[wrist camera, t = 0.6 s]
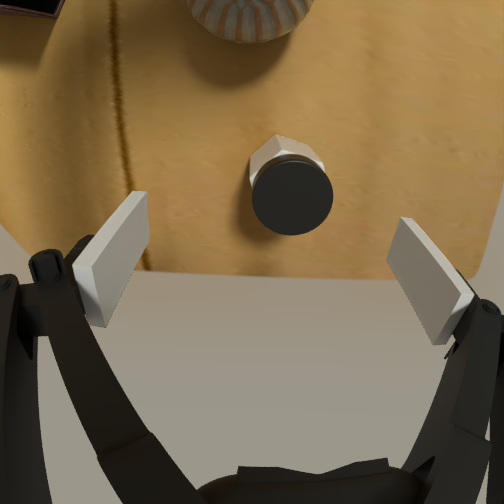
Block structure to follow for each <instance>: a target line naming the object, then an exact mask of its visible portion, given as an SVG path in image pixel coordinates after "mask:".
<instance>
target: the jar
mask: <svg viewBox="0 0 504 504" xmlns="http://www.w3.org/2000/svg"><path fill="white" fill-rule="evenodd" d="M250 183H251V187H252V204H253V209H254V211H255V214H256V216H257V217H258V219H259V220H260V222H261V223H262V224H263V225H264V226H266V227H267V228H268V229H270V230H272V231H274V232H276V233H279V234H283V235H300V234H304V233H307V232H309V231H311V230H313V229H315V228H316V227H318V226H319V225H320V224H321V223H322V222H323V221H324V220H325V219H326V217H327V216H328V214H329V212H330V210H331V207H332V203H333V189H332V185H331V183H330V180H329V178H328V177H327V175H326V174H325V171H324V165H323V163H322V161H321V160H320V159H319V158H318V156H317V155H316V154H315V152H314V151H313V150H312V149H311V147H310V146H309V145H308V144H305V143H302V142H299V141H296V140H293V139H290V138H287V137H284V136H280V135H277V134H276V135H274V136H273V137H272V138H271V139H270V140H268V141H267V142H266V143H265V144H264V145H263V146H262V147H260V148H259V149H258V150H257V151H256V152H255V153H253V154H252V155H251V156H250Z"/></svg>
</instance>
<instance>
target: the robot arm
mask: <svg viewBox="0 0 504 504" xmlns="http://www.w3.org/2000/svg"><path fill="white" fill-rule="evenodd" d="M148 242H149V224H148V204H147V192H144V191H132V192H131V194H130V195H129V196H128V197H127V198H126V199H125V200H124V201H123V203H122V204H121V205H120V206H119V207H118V208H117V210H116V211H115V212H114V213H113V214H112V215H111V217H110V218H109V219H108V220H107V221H106V223H105V224H104V225H103V226H102V227H101V229H100V230H99V231H98V232H97V234H96V235H87V236H85V237H84V238H82V239H81V240H79V241H78V243H77V244H76V245H75V246H74V248H73V249H72V250H71V251H70V253H69V254H68V255H67V256H66V257H65V258H64V260H63V255H62V253H61V252H60V251H59V250H56V249H47V250H43V251H40V252H38V253H36V254H35V255H33V256H32V257H31V259H30V260H29V264H28V265H29V268H30V272H31V275H32V278H33V281H34V283H31V284H22V285H20V284H19V281H18V278H17V277H16V276H15V275H13V274H4V275H0V504H52V499H51V495H50V490H49V486H48V480H47V474H46V468H45V462H44V455H43V448H42V440H41V430H40V420H39V407H38V381H37V350H38V336H48V337H49V340H50V344H51V346H52V350H53V353H54V356H55V359H56V362H57V364H58V367H59V370H60V373H61V375H62V378H63V381H64V383H65V386H66V389H67V391H68V393H69V396H70V398H71V401H72V403H73V405H74V408H75V410H76V412H77V415H78V417H79V419H80V421H81V423H82V426H83V428H84V430H85V432H86V434H87V436H88V438H89V440H90V442H91V444H92V446H93V448H94V450H95V452H96V454H97V459H98V461H99V464H100V466H101V468H102V470H103V472H104V473H105V475H106V477H107V479H108V480H109V482H110V484H111V485H112V487H113V489H114V490H115V492H116V494H117V495H118V497H119V498H120V500H121V502H122V503H123V504H475V503H476V500H477V497H478V494H479V492H480V489H481V485H482V482H483V479H484V476H485V472H486V469H487V465H488V462H489V471H488V484H487V498H486V504H504V315H501V311H500V309H499V308H498V307H497V306H496V305H495V304H494V303H493V302H491V301H489V300H486V299H480V298H479V297H478V295H477V294H476V293H475V291H474V290H473V289H472V287H471V286H470V285H469V284H468V282H467V281H466V280H465V279H464V277H463V276H462V275H461V273H460V272H459V271H458V270H457V269H456V268H454V267H453V266H452V265H451V264H450V262H449V261H448V260H447V259H446V257H445V256H444V255H443V254H442V253H441V251H440V250H439V249H438V248H437V247H436V245H435V244H434V243H433V242H432V241H431V240H430V238H429V237H428V236H427V235H426V234H425V233H424V231H423V230H422V229H421V228H420V227H419V226H418V225H417V224H416V222H415V221H414V220H413V219H412V218H405V217H400V219H399V222H398V226H397V229H396V232H395V235H394V238H393V241H392V244H391V247H390V250H389V253H388V256H387V259H386V261H387V263H388V264H389V266H390V268H391V269H392V271H393V273H394V274H395V276H396V278H397V280H398V281H399V283H400V285H401V286H402V288H403V290H404V292H405V294H406V295H407V297H408V299H409V301H410V303H411V304H412V306H413V308H414V310H415V312H416V314H417V316H418V318H419V320H420V321H421V323H422V325H423V327H424V329H425V331H426V333H427V335H428V337H429V339H430V340H431V343H432V345H444V344H446V343H447V342H448V340H449V338H450V337H451V335H452V334H453V335H454V338H455V339H456V340H455V342H454V343H453V345H452V347H451V348H450V350H449V351H448V353H447V354H446V356H445V357H444V359H446V358H447V357H448V360H447V363H446V366H445V369H444V372H443V375H442V378H441V381H440V383H439V386H438V389H437V392H436V395H435V397H434V400H433V402H432V405H431V407H430V410H429V412H428V415H427V417H426V419H425V422H424V424H423V426H422V428H421V431H420V433H419V435H418V438H417V440H416V442H415V444H414V446H413V448H412V450H411V452H410V454H409V456H408V458H407V460H406V462H405V463H404V465H403V466H402V468H401V469H399V468H395V467H391V466H389V464H388V459H387V458H382V459H375V460H368V461H361V462H354V463H352V464H349V465H346V466H343V467H341V468H338V469H335V470H332V471H329V472H326V473H323V474H312V473H305V472H300V471H295V470H290V469H285V468H280V467H244V466H238V471H237V474H235V475H229V476H225V477H222V478H218V479H216V480H213V481H211V482H209V483H207V484H205V485H203V486H201V487H200V488H199V489H197V490H196V489H195V488H194V487H193V485H192V484H191V483H190V482H189V480H188V479H187V478H186V477H185V475H184V474H183V473H182V472H181V470H180V469H179V468H178V466H177V465H176V464H175V462H174V461H173V460H172V458H171V457H170V456H169V455H168V453H167V452H166V450H165V449H164V447H163V446H162V445H161V443H160V442H159V441H158V439H157V438H156V437H155V436H154V434H153V433H151V432H149V430H148V429H147V428H146V426H145V425H144V423H143V422H142V420H141V418H140V417H139V415H138V414H137V412H136V411H135V409H134V407H133V406H132V404H131V402H130V401H129V399H128V398H127V396H126V394H125V392H124V391H123V389H122V387H121V385H120V384H119V382H118V380H117V379H116V377H115V375H114V373H113V371H112V370H111V368H110V366H109V364H108V362H107V360H106V358H105V356H104V355H103V352H102V351H101V349H100V347H99V345H98V343H97V341H96V339H95V336H94V335H93V332H92V330H91V328H90V326H89V325H92V326H99V327H104V328H106V327H107V324H108V322H109V320H110V318H111V316H112V314H113V312H114V309H115V307H116V305H117V303H118V301H119V299H120V297H121V295H122V292H123V291H124V289H125V287H126V285H127V282H128V281H129V279H130V276H131V275H132V273H133V271H134V269H135V267H136V265H137V263H138V261H139V259H140V257H141V255H142V253H143V251H144V249H145V248H146V246H147V244H148ZM85 315H86V317H85ZM86 318H87V320H86ZM489 417H490V441H488V440H486V439H485V434H486V431H487V426H488V422H489Z"/></svg>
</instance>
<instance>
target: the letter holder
mask: <svg viewBox="0 0 504 504" xmlns="http://www.w3.org/2000/svg"><path fill="white" fill-rule="evenodd" d="M64 1H65V0H0V15H20V16H33V17H43V18H49V19H50V18H51V19H57V17H58V15H59V13H60V10H61V8H62V5H63V3H64Z"/></svg>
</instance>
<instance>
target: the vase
mask: <svg viewBox="0 0 504 504" xmlns="http://www.w3.org/2000/svg"><path fill="white" fill-rule="evenodd" d="M185 1H186V4H187V6H188V8H189V10H190V12H191V14H192V15H193V17H194V18H195V19H196V21H197V22H198V23H199V24H200V25H201V26H202V27H203V28H205V29H206V30H207V31H209V32H210V33H212V34H214V35H215V36H217V37H220V38H222V39H224V40H228V41H231V42H236V43H244V44H254V43H263V42H268V41H271V40H274V39H277V38H279V37H282V36H284V35H285V34H287V33H289V32H290V31H292V30H293V29H294V28H296V27H297V26H298V25H299V24H300V23H301V22H302V21H303V20H304V18H305V17H306V15H307V14H308V12H309V10H310V8H311V6H312V4H313V1H314V0H185Z"/></svg>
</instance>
